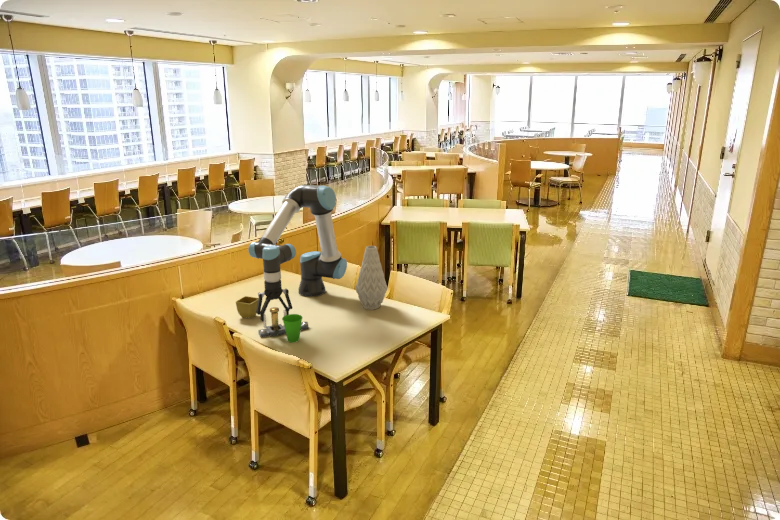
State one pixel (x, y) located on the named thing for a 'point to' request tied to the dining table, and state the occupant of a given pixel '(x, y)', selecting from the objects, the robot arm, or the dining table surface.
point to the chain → (280, 331)
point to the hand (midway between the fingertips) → (275, 325)
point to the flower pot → (247, 306)
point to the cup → (292, 327)
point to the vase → (371, 280)
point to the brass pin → (274, 318)
